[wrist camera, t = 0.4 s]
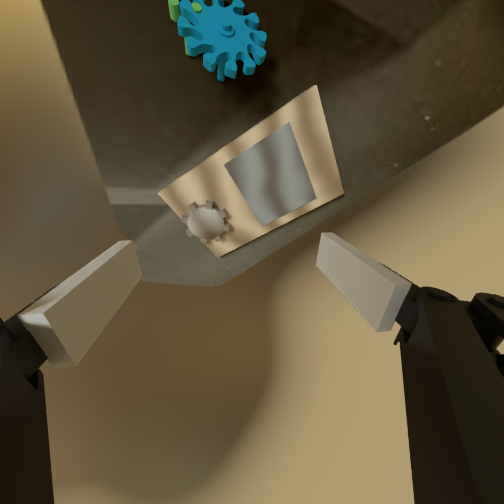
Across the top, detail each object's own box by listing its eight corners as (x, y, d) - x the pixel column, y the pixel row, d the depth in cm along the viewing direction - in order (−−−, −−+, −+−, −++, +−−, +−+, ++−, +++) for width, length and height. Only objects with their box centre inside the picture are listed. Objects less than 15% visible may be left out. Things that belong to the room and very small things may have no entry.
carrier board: (312, 85, 27) (320, 83, 25) (340, 190, 37) (347, 196, 35) (158, 192, 35) (152, 198, 33) (215, 255, 45) (214, 263, 43)
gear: (280, 19, 22) (252, 81, 20) (264, 71, 28) (241, 124, 26) (189, -45, 20) (147, 18, 18) (192, 26, 25) (161, 80, 23)
